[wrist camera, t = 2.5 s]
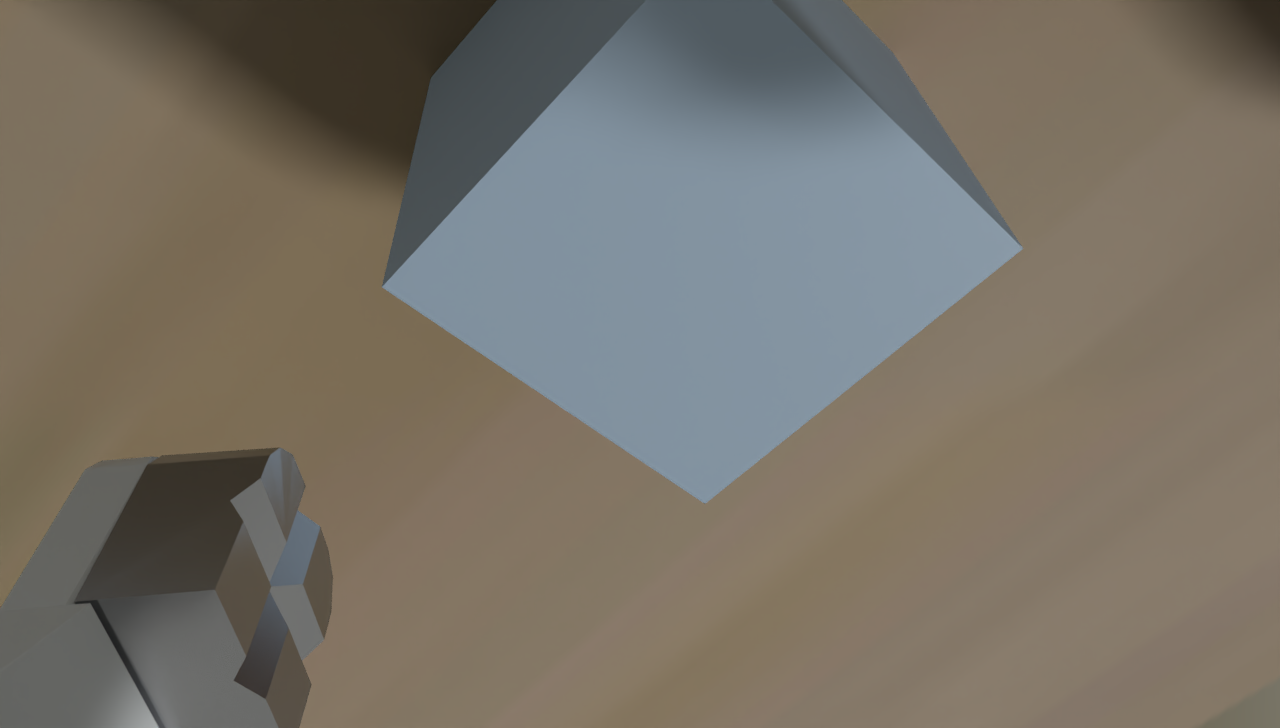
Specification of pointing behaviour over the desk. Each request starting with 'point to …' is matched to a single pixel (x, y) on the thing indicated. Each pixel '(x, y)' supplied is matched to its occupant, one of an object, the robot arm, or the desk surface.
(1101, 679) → the desk surface
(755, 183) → the blue block
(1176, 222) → the desk surface
